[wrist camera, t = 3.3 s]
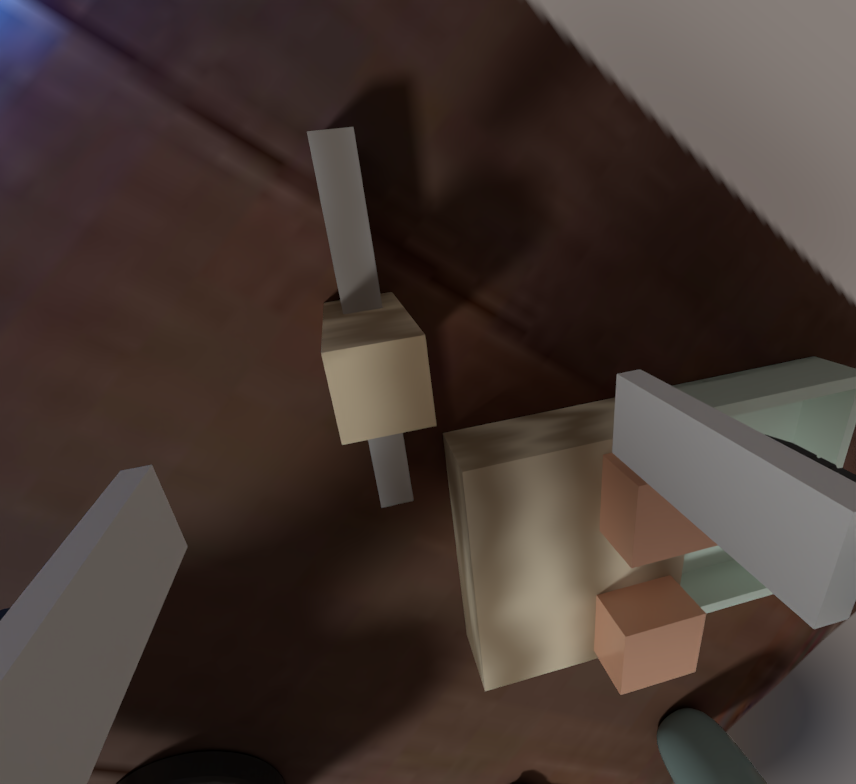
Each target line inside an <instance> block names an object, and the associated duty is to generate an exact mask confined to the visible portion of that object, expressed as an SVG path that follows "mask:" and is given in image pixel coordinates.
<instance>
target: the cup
mask: <svg viewBox="0 0 856 784" xmlns="http://www.w3.org/2000/svg"><path fill="white" fill-rule="evenodd" d="M657 745H658V748H659V751H660V754H661V757H662V759H663V762H664V764H665V766H666V768H667V770H668V772H669V774H670V776H671V778H672V780H673V781H674V783H675V784H767V782H766V781H765V780H764V778H763V777H762V776H761V774H760V773H759V772H758V771H757V769H756V768H755V767H754V765H753V764H752V763H751V761H750V760H749V759H748V758H747V756H746V755H745V754H744V753H743V751H742V750H741V749H740V748H739V747H738V745H737V744H736V743H735V742H734V740H733V739H732V738H731V737H730V736H729V735H728V734H727V733H726V731H725V730H724V729H723V728H722V727H721V726H720V725H719V724H718V723H717V722H716V721H715V720H713V719H712V718H711V717H710V716H708V715H707V714H705V713H704V712H702V711H700V710H697V709H693V708H682V709H679V710H676V711H674V712H672V713H671V714H669V715H668V716H667V717H666V718H665V719H664V720H663V721H662V722H661V724H660V725H659V727H658V730H657Z"/></svg>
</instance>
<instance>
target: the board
mask: <svg viewBox="0 0 856 784" xmlns="http://www.w3.org/2000/svg"><path fill="white" fill-rule="evenodd" d="M614 412H615V398H610V399H605V400H600V401H595V402H591V403H586V404H581V405H576V406H571V407H566V408H562V409H557V410H552V411H547V412H542V413H537V414H533V415H528V416H523V417H518V418H513V419H508V420H504V421H499V422H494V423H489V424H484V425H479V426H475V427H470V428H465V429H460V430H455V431H450V432H446V433H443V441H444V449H445V458H446V466H447V474H448V483H449V491H450V499H451V508H452V516H453V524H454V533H455V541H456V549H457V558H458V566H459V574H460V583H461V591H462V599H463V608H464V616H465V624H466V633H467V637H468V640H469V643H470V646H471V649H472V652H473V655H474V659H475V662H476V665H477V668H478V671H479V674H480V677H481V680H482V683H483V686H484V689H485V691H488V690H492V689H495V688H498V687H502V686H505V685H508V684H512V683H515V682H519V681H522V680H525V679H529V678H532V677H536V676H539V675H542V674H546V673H549V672H553V671H556V670H559V669H563V668H566V667H569V666H573V665H576V664H580V663H583V662H586V661H590V660H593V659H597V658H598V657H597V655H596V653H595V652H594V639H595V617H596V595H599V594H602V593H606V592H610V591H613V590H617V589H621V588H624V587H628V586H632V585H635V584H639V583H643V582H646V581H650V580H654V579H657V578H661V577H665V576H668V575H671V576H672V577H673V579H674V580H675V581H676V582H677V583H678V584H679V585H680V583H681V576H682V569H683V562H684V556H685V554H684V555H680V556H676V557H672V558H669V559H665V560H661V561H657V562H654V563H650V564H646V565H643V566H639V567H635V568H631V567H630V566H629V565H628V564H627V563H626V561H625V560H624V559H623V558H622V557H621V555H620V554H619V553H618V552H617V551H616V550H615V548H614V547H613V546H612V545H611V544H610V542H609V541H608V540H607V539H606V538H605V536H604V535H603V534H602V533H601V532H600V531H599V530H600V508H601V487H602V465H603V455H604V454H609V453H612V445H613V428H614Z"/></svg>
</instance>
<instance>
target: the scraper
mask: <svg viewBox="0 0 856 784" xmlns="http://www.w3.org/2000/svg"><path fill="white" fill-rule="evenodd" d="M307 135H308V140H309V145H310V150H311V155H312V160H313V165H314V170H315V175H316V180H317V185H318V190H319V195H320V200H321V205H322V210H323V215H324V220H325V225H326V230H327V235H328V241H329V246H330V251H331V256H332V261H333V266H334V271H335V276H336V281H337V286H338V291H339V296H340V300H338V301H332V302H325V303H324V310H323V328H322V346H321V355H322V359H323V363H324V368H325V372H326V377H327V381H328V385H329V390H330V394H331V399H332V403H333V408H334V412H335V416H336V421H337V425H338V430H339V434H340V438H341V443H342V445H345V444H350V443H355V442H360V441H365V440H368V442H369V447H370V452H371V457H372V463H373V468H374V473H375V478H376V483H377V488H378V493H379V498H380V503H381V508H383V507H388V506H392V505H397V504H401V503H405V502H410V501H414V500H413V494H412V487H411V481H410V475H409V469H408V462H407V456H406V450H405V444H404V438H403V433H404V432H409V431H414V430H418V429H423V428H428V427H433V426H437V425H436V417H435V409H434V401H433V393H432V385H431V377H430V369H429V361H428V353H427V345H426V337H425V334H424V333H423V331H422V330H421V329H420V328H419V326H418V325H417V324H416V322H415V321H414V320H413V318H412V317H411V316H410V315H409V313H408V312H407V311H406V309H405V308H404V307H403V306H402V304H401V303H400V302H399V300H398V299H397V298H396V297H395V295H394V294H393V293H392V292H388V293H382V294H380V289H379V282H378V276H377V270H376V264H375V258H374V251H373V245H372V239H371V233H370V227H369V220H368V214H367V208H366V202H365V195H364V189H363V183H362V177H361V171H360V164H359V158H358V152H357V146H356V140H355V133H354V127H346V128H336V129H327V130H317V131H307Z"/></svg>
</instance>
